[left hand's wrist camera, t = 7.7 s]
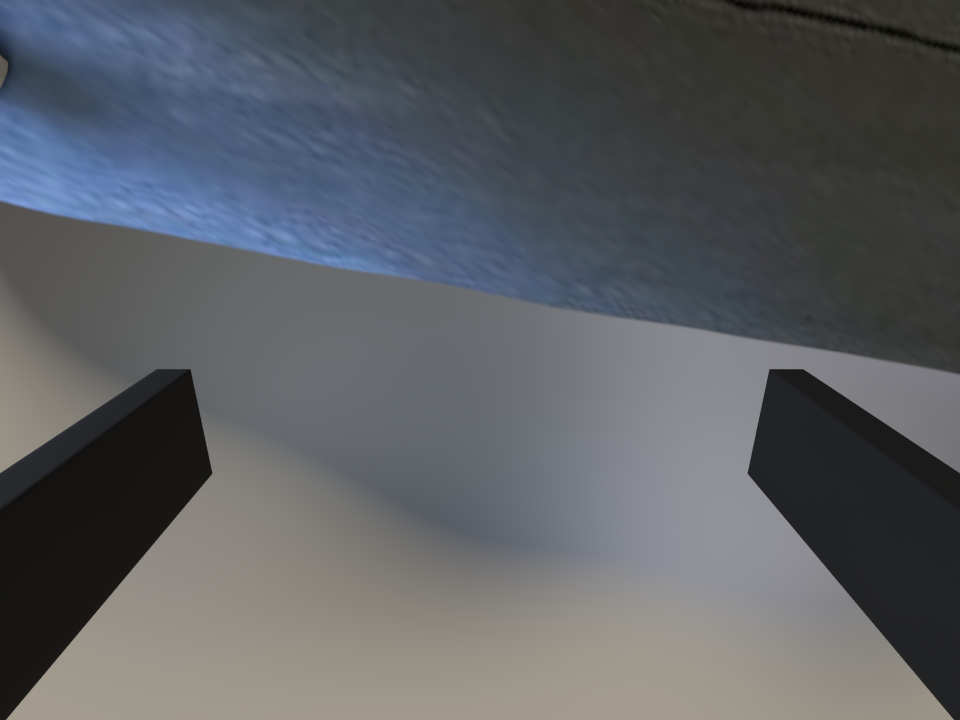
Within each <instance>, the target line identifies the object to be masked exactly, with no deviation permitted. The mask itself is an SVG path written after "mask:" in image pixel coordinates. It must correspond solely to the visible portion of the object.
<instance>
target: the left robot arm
mask: <svg viewBox="0 0 960 720" xmlns="http://www.w3.org/2000/svg"><path fill="white" fill-rule="evenodd" d="M211 475H212V469H211V465H210V460H209V455H208V450H207V446H206V441H205V436H204V431H203V427H202V422H201V417H200V413H199V408H198V403H197V398H196V393H195V389H194V384H193V379H192V374H191V370H190V369H157V370H155V371H153V372H152V373H150V374H149V375H147V376H146V377H144V378H143V379H141V380H140V381H138V382H137V383H135V384H134V385H132V386H131V387H129V388H128V389H126V390H125V391H123V392H122V393H120V394H119V395H117V396H116V397H114V398H113V399H111V400H110V401H108V402H107V403H105V404H104V405H102V406H101V407H99V408H98V409H96V410H95V411H93V412H92V413H90V414H89V415H87V416H86V417H84V418H83V419H81V420H80V421H78V422H77V423H75V424H74V425H72V426H71V427H69V428H68V429H66V430H65V431H63V432H62V433H60V434H59V435H57V436H56V437H54V438H53V439H51V440H50V441H48V442H47V443H45V444H44V445H42V446H41V447H39V448H38V449H36V450H35V451H33V452H32V453H30V454H29V455H27V456H26V457H24V458H22V459H21V460H19V461H18V462H16V463H15V464H13V465H12V466H10V467H9V468H7V469H6V470H4V471H3V472H1V473H0V720H6V719H7V718H8V717H9V715H10V714H11V713H12V712H13V711H14V709H15V708H16V707H17V706H18V705H19V703H20V702H21V701H22V700H23V699H24V698H25V696H26V695H27V694H28V693H29V692H30V690H31V689H32V688H33V687H34V686H35V684H36V683H37V682H38V681H39V680H40V678H41V677H42V676H43V675H44V674H45V672H46V671H47V670H48V669H49V668H50V667H51V665H52V664H53V663H54V662H55V660H56V659H57V658H58V657H59V656H60V655H61V653H62V652H63V651H64V650H65V649H66V647H67V646H68V645H69V644H70V643H71V641H72V640H73V639H74V638H75V637H76V636H77V634H78V633H79V632H80V631H81V630H82V628H83V627H84V626H85V625H86V624H87V622H88V621H89V620H90V619H91V618H92V616H93V615H94V614H95V613H96V612H97V610H98V609H99V608H100V607H101V606H102V605H103V603H104V602H105V601H106V600H107V599H108V597H109V596H110V595H111V594H112V593H113V591H114V590H115V589H116V588H117V587H118V585H119V584H120V583H121V582H122V581H123V580H124V578H125V577H126V576H127V575H128V574H129V572H130V571H131V570H132V569H133V568H134V566H135V565H136V564H137V563H138V562H139V560H140V559H141V558H142V557H143V556H144V554H145V553H146V552H147V551H148V550H149V548H150V547H151V546H152V545H153V544H154V543H155V541H156V540H157V539H158V538H159V537H160V535H161V534H162V533H163V532H164V531H165V529H166V528H167V527H168V526H169V525H170V523H171V522H172V521H173V520H174V519H175V518H176V516H177V515H178V514H179V513H180V512H181V510H182V509H183V508H184V507H185V506H186V504H187V503H188V502H189V501H190V500H191V498H192V497H193V496H194V495H195V494H196V492H197V491H198V490H199V489H200V488H201V487H202V485H203V484H204V483H205V482H206V481H207V479H208V478H209V477H210V476H211ZM748 475H749V476H750V477H751V478H752V479H753V481H754V482H755V483H756V484H757V485H758V487H759V488H760V489H761V490H762V491H763V492H764V494H765V495H766V496H767V497H768V498H769V500H770V501H771V502H772V503H773V504H774V506H775V507H776V508H777V509H778V510H779V512H780V513H781V514H782V515H783V516H784V517H785V519H786V520H787V521H788V522H789V523H790V525H791V526H792V527H793V528H794V529H795V531H796V532H797V533H798V534H799V535H800V537H801V538H802V539H803V540H804V541H805V543H806V544H807V545H808V546H809V547H810V549H811V550H812V551H813V552H814V553H815V554H816V556H817V557H818V558H819V559H820V560H821V562H822V563H823V564H824V565H825V566H826V568H827V569H828V570H829V571H830V572H831V573H832V575H833V576H834V577H835V578H836V579H837V581H838V582H839V583H840V584H841V585H842V587H843V588H844V589H845V590H846V591H847V593H848V594H849V595H850V596H851V597H852V599H853V600H854V601H855V602H856V603H857V605H858V606H859V607H860V608H861V609H862V610H863V612H864V613H865V614H866V615H867V616H868V618H869V619H870V620H871V621H872V622H873V624H874V625H875V626H876V627H877V628H878V630H879V631H880V632H881V633H882V634H883V636H884V637H885V638H886V639H887V640H888V641H889V643H890V644H891V645H892V646H893V647H894V649H895V650H896V651H897V652H898V653H899V655H900V656H901V657H902V658H903V659H904V661H905V662H906V663H907V664H908V665H909V667H910V668H911V669H912V670H913V671H914V673H915V674H916V675H917V676H918V677H919V678H920V680H921V681H922V682H923V683H924V684H925V686H926V687H927V688H928V689H929V690H930V692H931V693H932V694H933V695H934V696H935V697H936V699H937V700H938V701H939V702H940V704H941V705H942V706H943V707H944V708H945V709H946V711H947V712H948V713H949V714H950V715H951V717H952V718H953V719H954V720H960V473H959V472H957V471H956V470H954V469H953V468H951V467H950V466H948V465H946V464H945V463H943V462H942V461H941V460H939V459H937V458H936V457H934V456H933V455H931V454H930V453H928V452H927V451H925V450H924V449H922V448H921V447H919V446H918V445H916V444H915V443H913V442H912V441H910V440H909V439H907V438H906V437H904V436H903V435H901V434H900V433H898V432H897V431H895V430H894V429H892V428H891V427H889V426H888V425H886V424H885V423H883V422H882V421H880V420H879V419H877V418H876V417H874V416H873V415H871V414H870V413H868V412H867V411H865V410H864V409H862V408H861V407H859V406H858V405H856V404H855V403H853V402H852V401H850V400H849V399H847V398H846V397H844V396H843V395H841V394H840V393H838V392H837V391H835V390H834V389H832V388H831V387H829V386H828V385H826V384H825V383H823V382H822V381H820V380H819V379H817V378H816V377H814V376H813V375H811V374H810V373H808V372H806V371H805V370H803V369H770V370H769V375H768V379H767V384H766V389H765V394H764V398H763V403H762V408H761V412H760V417H759V422H758V427H757V431H756V436H755V441H754V446H753V450H752V455H751V460H750V465H749V469H748Z"/></svg>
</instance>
